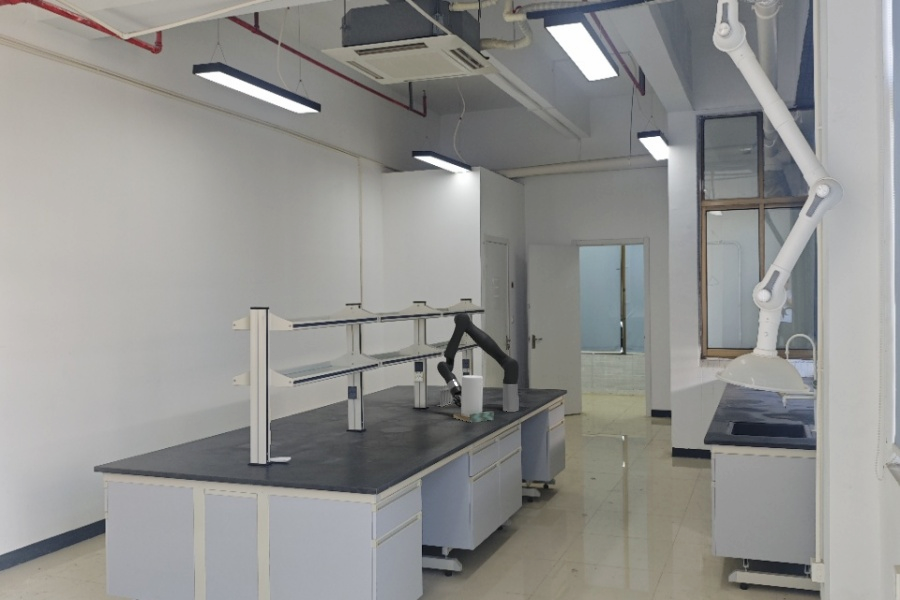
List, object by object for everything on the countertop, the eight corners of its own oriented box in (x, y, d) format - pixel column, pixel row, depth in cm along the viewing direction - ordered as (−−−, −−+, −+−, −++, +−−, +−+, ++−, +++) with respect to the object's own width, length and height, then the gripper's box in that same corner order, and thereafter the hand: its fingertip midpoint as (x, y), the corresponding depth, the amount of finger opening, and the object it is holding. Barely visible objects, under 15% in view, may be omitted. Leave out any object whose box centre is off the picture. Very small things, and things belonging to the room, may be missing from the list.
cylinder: (456, 417, 462) (457, 375, 461) (474, 416, 468) (474, 374, 468) (468, 421, 451) (469, 378, 450) (486, 419, 458) (487, 377, 457)
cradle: (475, 416, 470) (475, 407, 470) (493, 420, 456) (493, 411, 455) (453, 418, 461) (453, 410, 461) (471, 422, 446) (471, 414, 446)
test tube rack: (442, 407, 505) (442, 387, 505) (436, 406, 507) (436, 386, 506) (458, 402, 528) (458, 382, 527) (452, 401, 529) (452, 382, 529)
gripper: (448, 385, 467) (460, 408, 457) (466, 384, 475) (478, 406, 465) (443, 393, 472) (455, 416, 462) (461, 391, 479) (473, 414, 469)
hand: (466, 411), depth 463 cm, fingers closed
